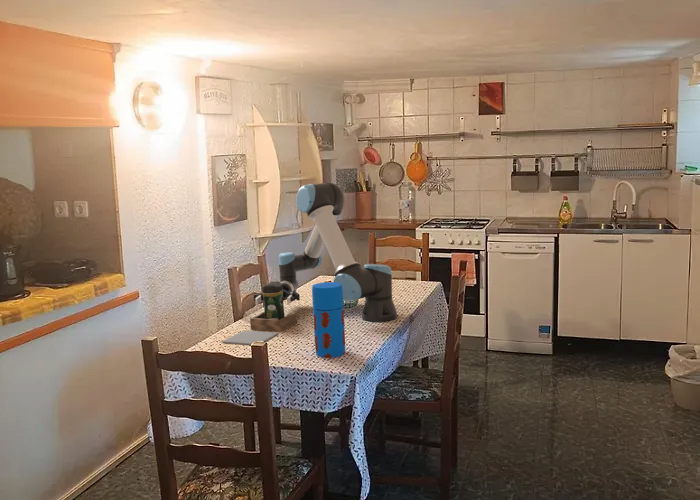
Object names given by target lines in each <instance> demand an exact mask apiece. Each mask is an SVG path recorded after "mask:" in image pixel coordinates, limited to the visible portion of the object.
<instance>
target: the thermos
mask: <svg viewBox="0 0 700 500" xmlns="http://www.w3.org/2000/svg"><path fill="white" fill-rule="evenodd" d="M311 294H312V295H311V297H312V316H313V333H314V336H313V337H314V347H315V355H316V356H317V357H319V358H331V359H332V358H338V357H341V356H343V355H345V354H346V331H345V330H346V329H345V311H344V310H345V308H344V300H343V289H342V284H341V283H336V282H334V281H329V282H328V281H327V282H319V283H314V284H312V285H311Z"/></svg>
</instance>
